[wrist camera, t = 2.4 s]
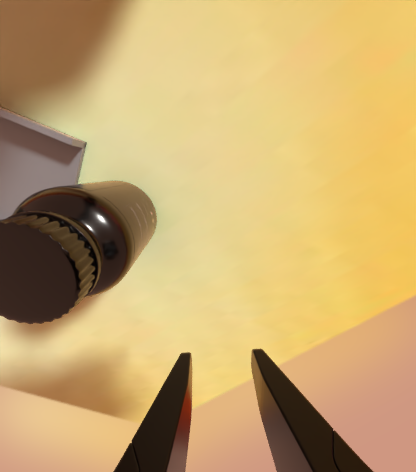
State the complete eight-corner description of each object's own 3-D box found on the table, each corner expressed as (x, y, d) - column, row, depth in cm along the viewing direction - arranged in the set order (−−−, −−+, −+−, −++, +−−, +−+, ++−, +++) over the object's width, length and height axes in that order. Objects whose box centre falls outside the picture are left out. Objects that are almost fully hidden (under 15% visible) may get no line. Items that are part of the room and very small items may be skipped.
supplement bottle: (94, 251, 21) (-37, 348, 9) (79, 182, 19) (-112, 195, 7) (162, 248, 21) (116, 339, 9) (154, 178, 19) (83, 187, 7)
